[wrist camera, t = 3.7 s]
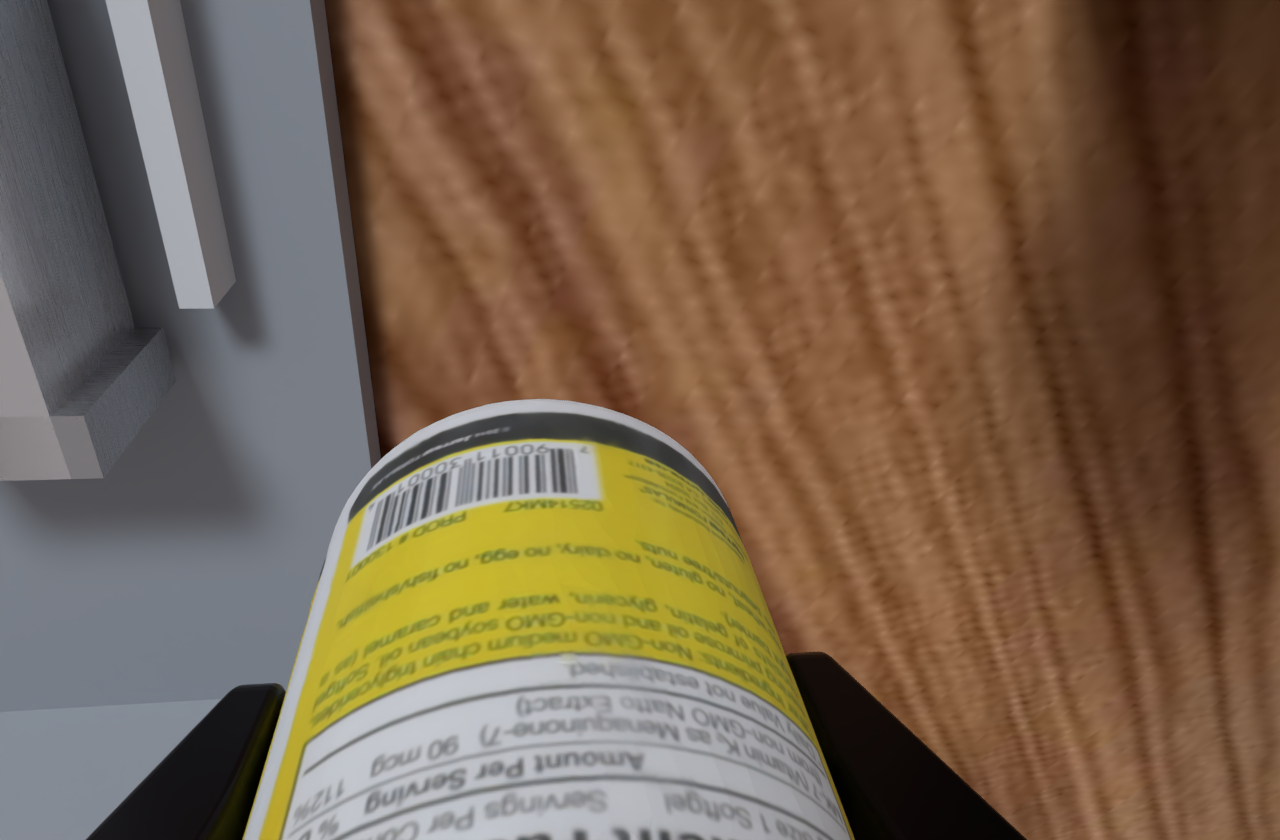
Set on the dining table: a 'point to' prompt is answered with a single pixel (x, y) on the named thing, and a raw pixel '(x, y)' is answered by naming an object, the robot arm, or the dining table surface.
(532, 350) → the dining table surface
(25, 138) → the pale grey box
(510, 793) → the supplement bottle
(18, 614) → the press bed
